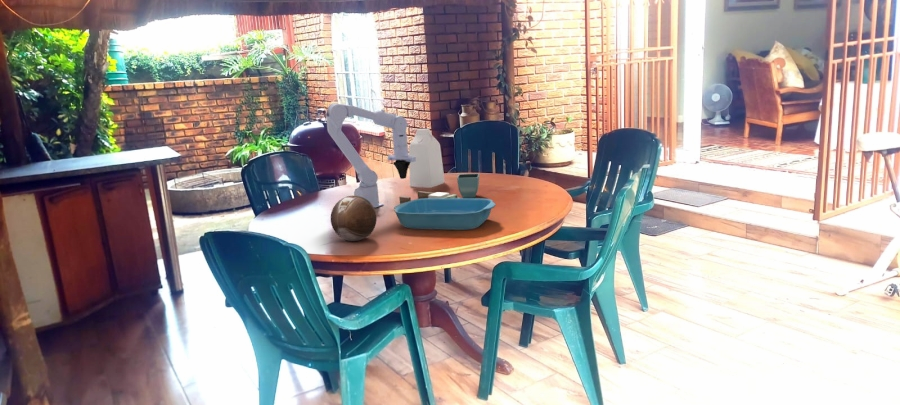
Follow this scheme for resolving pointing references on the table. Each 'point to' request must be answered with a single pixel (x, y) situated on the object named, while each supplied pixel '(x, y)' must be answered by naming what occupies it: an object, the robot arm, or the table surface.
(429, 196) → the block
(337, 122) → the robot arm
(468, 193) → the flower pot
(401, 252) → the table surface
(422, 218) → the casserole dish
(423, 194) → the trap lane
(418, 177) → the milk
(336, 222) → the wooden sphere
